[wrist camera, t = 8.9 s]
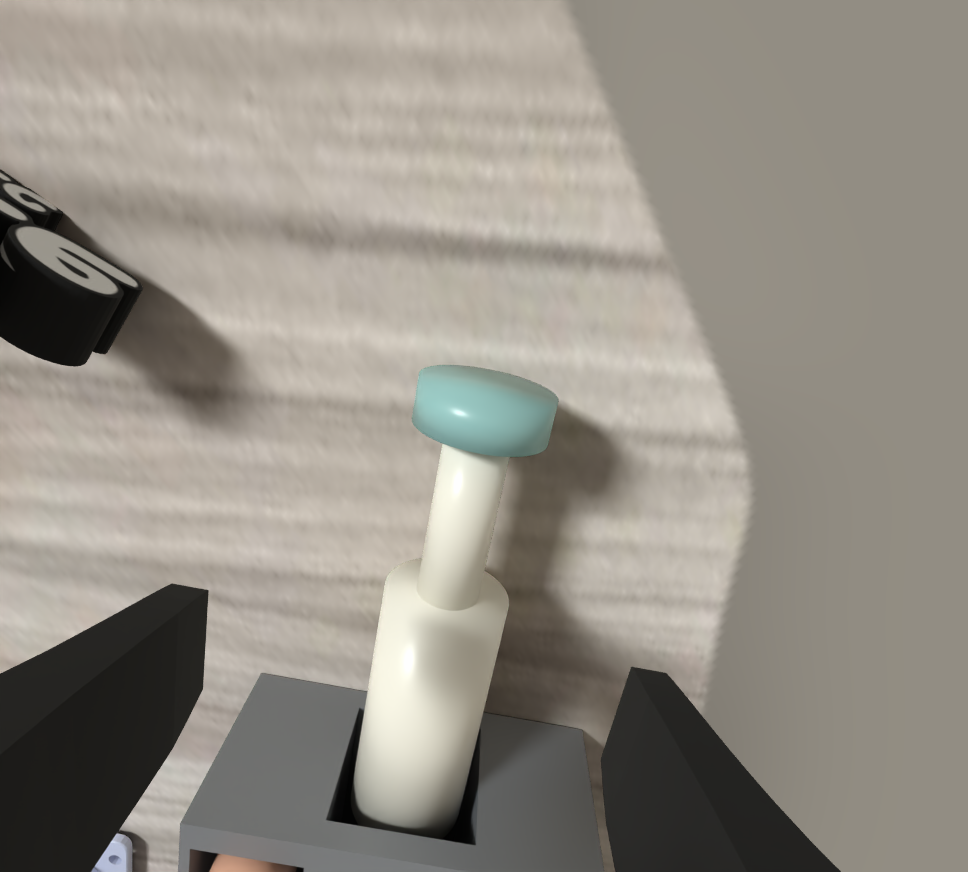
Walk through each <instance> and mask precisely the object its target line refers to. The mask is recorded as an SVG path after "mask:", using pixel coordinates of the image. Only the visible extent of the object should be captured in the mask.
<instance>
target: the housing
mask: <svg viewBox="0 0 968 872" xmlns="http://www.w3.org/2000/svg"><path fill="white" fill-rule="evenodd" d="M366 698H367V692H365V691H360V690H354V689H348V688H343V687H337V686H331V685H326V684H320V683H314V682H309V681H303V680H297V679H292V678H286V677H280V676H275V675H269V674H263V673H261V675H260V676H259V678H258V680H257V682H256V684H255V686H254V688H253V689H252V691H251V693H250V695H249V697H248V699H247V701H246V702H245V704H244V706H243V708H242V710H241V712H240V714H239V715H238V717H237V719H236V721H235V723H234V725H233V727H232V728H231V730H230V732H229V734H228V736H227V738H226V740H225V741H224V743H223V745H222V747H221V749H220V751H219V753H218V754H217V756H216V758H215V760H214V762H213V764H212V766H211V767H210V769H209V771H208V773H207V775H206V777H205V779H204V780H203V782H202V784H201V786H200V788H199V790H198V792H197V793H196V795H195V797H194V799H193V801H192V803H191V805H190V806H189V808H188V810H187V812H186V814H185V816H184V818H183V819H182V821H181V823H180V841H179V865H178V872H209V871H210V869H211V867H212V864H213V862H214V860H215V858H216V856H217V853H218V854H224V855H230V856H236V857H242V858H248V859H254V860H260V861H266V862H272V863H278V864H284V865H290V866H296V867H297V870H296V872H604V866H603V860H602V853H601V847H600V841H599V834H598V828H597V821H596V815H595V809H594V802H593V796H592V789H591V783H590V777H589V770H588V764H587V757H586V751H585V745H584V738H583V732H582V730H580V729H575V728H569V727H563V726H558V725H552V724H546V723H541V722H535V721H529V720H524V719H518V718H512V717H507V716H501V715H495V714H490V713H484V712H483V716H482V720H481V724H480V728H479V732H478V737H477V741H476V745H475V749H474V753H473V757H472V761H471V766H470V770H469V774H468V778H467V782H466V786H465V790H464V795H463V799H462V803H461V807H460V811H459V815H458V818H457V821H456V823H455V825H454V826H453V828H452V829H451V831H450V832H449V833H448V834H447V835H446V836H445V837H444V838H443V839H441V840H440V839H434V838H428V837H422V836H416V835H410V834H404V833H398V832H392V831H387V830H381V829H375V828H369V827H363V826H359V825H358V823H357V821H356V820H355V817H354V815H353V812H352V808H351V791H352V785H353V778H354V772H355V766H356V760H357V754H358V748H359V741H360V735H361V729H362V723H363V717H364V711H365V704H366Z"/></svg>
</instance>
